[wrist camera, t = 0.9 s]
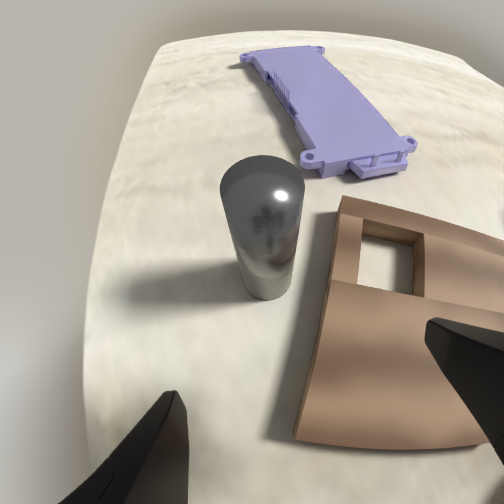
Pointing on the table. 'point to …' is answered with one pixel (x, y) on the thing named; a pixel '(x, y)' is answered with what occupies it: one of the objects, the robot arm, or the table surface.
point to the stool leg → (264, 221)
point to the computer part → (330, 114)
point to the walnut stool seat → (397, 334)
